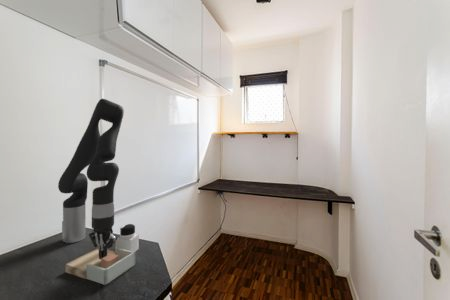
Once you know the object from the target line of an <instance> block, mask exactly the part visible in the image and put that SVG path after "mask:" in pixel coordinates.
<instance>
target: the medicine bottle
mask: <svg viewBox="0 0 450 300" xmlns="http://www.w3.org/2000/svg"><path fill="white" fill-rule="evenodd" d="M117 237H118V238H117V240H116V241H115V252H116V249H117V248H121V249H125V250H129V251H133V252H135V253H136V252H137V251H138V250H139V249H140V245H139V243H140V234H139V233H136V225H135V224H132V223H128V224H124V225H121V226H120V227H119V236H117Z"/></svg>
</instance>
